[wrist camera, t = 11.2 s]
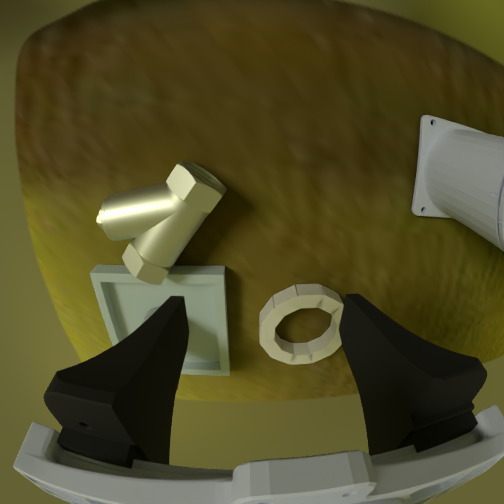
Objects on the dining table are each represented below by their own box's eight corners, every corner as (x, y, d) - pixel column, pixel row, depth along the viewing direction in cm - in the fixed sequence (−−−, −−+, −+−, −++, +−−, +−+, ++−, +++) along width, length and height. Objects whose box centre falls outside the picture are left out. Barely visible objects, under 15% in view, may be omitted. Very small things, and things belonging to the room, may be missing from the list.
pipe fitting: (105, 219, 21) (171, 268, 22) (79, 236, 17) (154, 293, 19) (153, 132, 18) (229, 186, 20) (129, 133, 15) (221, 197, 16)
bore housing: (351, 282, 23) (357, 293, 22) (336, 349, 26) (340, 360, 25) (260, 284, 23) (260, 295, 21) (258, 353, 26) (259, 365, 25)
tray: (224, 265, 22) (223, 274, 21) (230, 365, 27) (229, 375, 26) (96, 264, 22) (89, 272, 21) (125, 358, 27) (121, 367, 25)
